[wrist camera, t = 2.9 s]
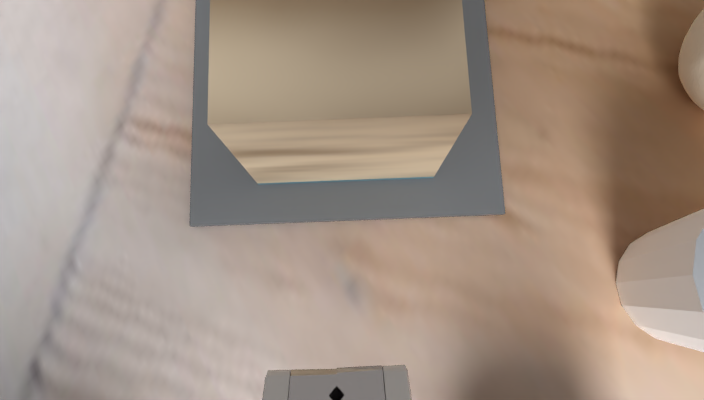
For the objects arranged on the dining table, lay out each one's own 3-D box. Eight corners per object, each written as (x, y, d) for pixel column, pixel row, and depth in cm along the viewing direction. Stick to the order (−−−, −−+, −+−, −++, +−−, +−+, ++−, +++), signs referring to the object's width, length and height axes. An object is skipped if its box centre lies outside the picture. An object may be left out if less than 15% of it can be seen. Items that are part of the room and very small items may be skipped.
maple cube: (433, 178, 26) (471, 113, 17) (258, 184, 26) (207, 124, 17) (422, 18, 28) (452, -114, 19) (258, 25, 28) (212, -104, 19)
